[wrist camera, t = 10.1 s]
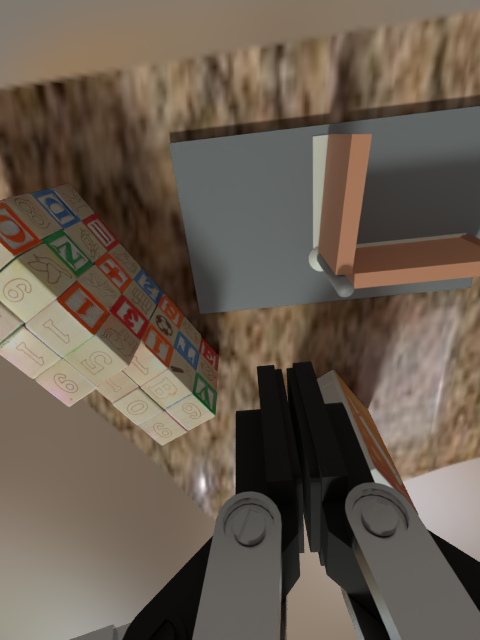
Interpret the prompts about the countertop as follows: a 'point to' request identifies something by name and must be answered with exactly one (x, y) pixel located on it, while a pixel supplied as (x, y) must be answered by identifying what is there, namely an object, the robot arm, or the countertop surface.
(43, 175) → the countertop surface
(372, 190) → the board
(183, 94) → the countertop surface
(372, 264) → the fixed fence panel
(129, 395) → the stack of blocks
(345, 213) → the hinged fence panel
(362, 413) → the small box
